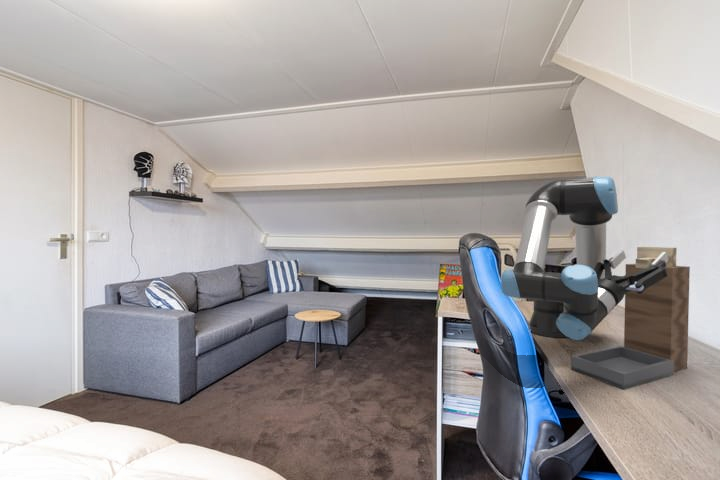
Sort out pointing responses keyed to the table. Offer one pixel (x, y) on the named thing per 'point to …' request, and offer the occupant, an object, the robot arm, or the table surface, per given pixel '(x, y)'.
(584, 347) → the table surface
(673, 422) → the table surface
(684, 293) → the plinth
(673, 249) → the mallet
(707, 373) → the table surface
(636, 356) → the tray
